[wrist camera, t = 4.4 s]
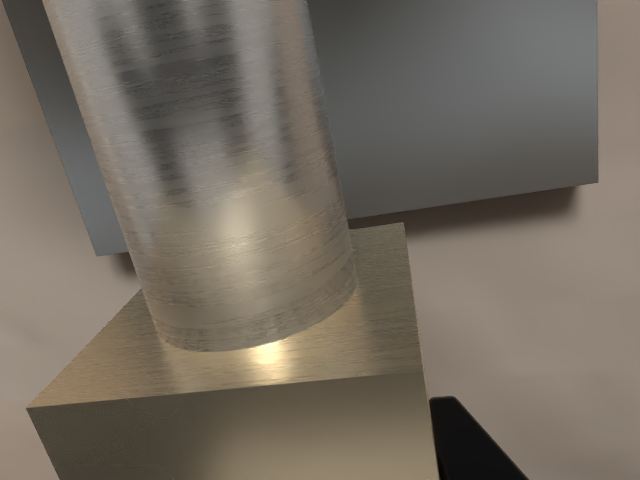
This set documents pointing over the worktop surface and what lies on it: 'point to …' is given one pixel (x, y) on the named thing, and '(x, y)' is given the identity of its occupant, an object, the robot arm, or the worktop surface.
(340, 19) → the bearing block
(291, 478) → the shaft
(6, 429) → the worktop surface
